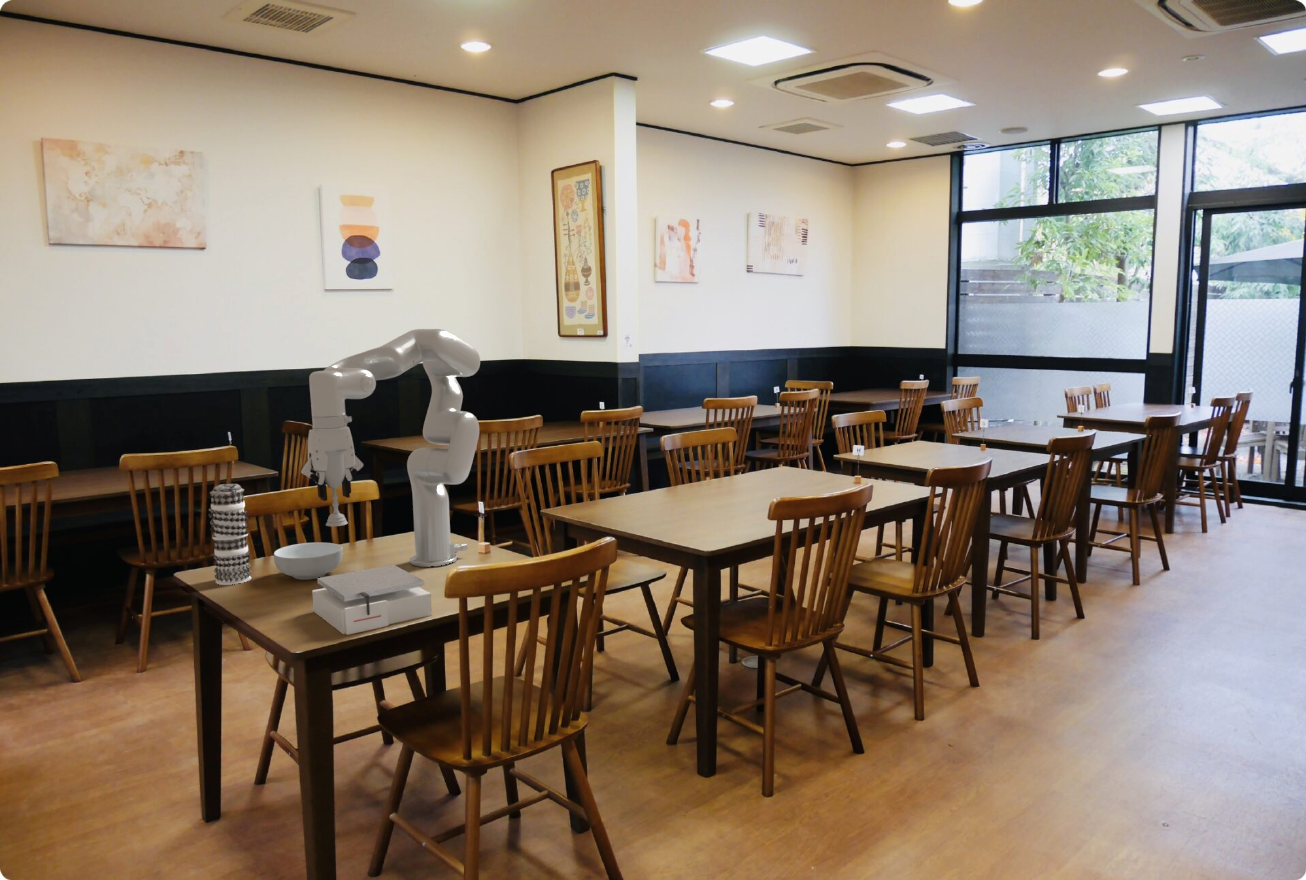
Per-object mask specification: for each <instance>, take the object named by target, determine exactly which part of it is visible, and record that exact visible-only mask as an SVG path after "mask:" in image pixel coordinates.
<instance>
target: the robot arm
mask: <svg viewBox="0 0 1306 880" xmlns="http://www.w3.org/2000/svg"><path fill="white" fill-rule="evenodd" d="M480 357H481V356H480V355H479V352H478V351H477V349H476V348H475V347H474V346H473V345H472V344H470V343H468V342H466V341H465V340H463V339H461V338H460V337H458V336H456V335H455V334H453V333H451V332H449V331H447V330H445V329H440V328H417V329H412V330H409V331H407V332H406V333H405V332H404V333H403V334H401V335H400V336H397V337H396V338H394V339H393V340H390V341H388V342H386V343H385V344H383V345H381V346H378V347H375V348H372V349H369V350H366V351H362V352H360V353H356V354H353V355H351V356H347V357H345V358H342V359H340V360H338V361H336V362H335V363H332V364H331V365H329V366H328V367H326V368H325V369H324V370H317V371H313V372H311V373H310V375H309V377H308V378H309V393H310V396H309V397H310V403H311V404H310V407H311V419H312V420H311V421H312V429H309V431H308V436H307V437H308V438H307V439H308V440H307V461H306V463H305V464H304V466H303V467H302V469H301V471H300V472H301V474H302V475H304V476H305V477H307V478H310V479H311V480H312V481H313V482H314V483H315V484H316V486H317V487H316V488H317V496H318V498H319V499H320V500H321V501H324V502H327V501H328V492H327V490H328V489H327V488H328V487H327V484H326V483H325V481H324V478H325V473H324V472H325V471H327V464H328V456H327V455H326V454H325V452H338V451H345V450H346V452H345V453H344V461H345V467H346V472H345V477H344V479H343V481H342V484H341V492H342V497H345V498H347V499H349V498H350V497H351V496H350V495H351V493H352V485H351V483H352V482H351V481H352V480H353V478H354V477H355V475H356V474H357V473H358V471H360V470H361V469H362V468H363V467H364V463H363V462H362V461H361V460H360V459H359V458H358V457H357V455H355V453H356V451H355V447H354V441H353V436H352V433H351V430H350V427H349V426H348V423H352V421H353V417H352V416H351V415H350V416H348V415H347V414H346V404H345V403H346V402H345V401H346V400H348V399H349V400H362V399H365V398H367V397H369V396H371V395H372V394H374V391H375V389H376V386H377V381H380V380H381V381H382V380H387V379H388V380H389V379H392V378H396V377H398V376H400V375H402V374H403V373H405V372H407V371H408V370H410V369H411V368H414V367H416V366H417V365H419V364H420V363H422V366H423V369H424V370H425V373H426V374H427V376H428V379H429V381H430V385H431V397H430V400H429V401H430V402H429V404H428V405H429V406H428V408H427V411H426V412H427V413H426V415H425V420H424V423H423V428H422V436H423V438H424V440H425V441H426V442H428V443H430V444H432V445H439V446H441V445H442V446H448V448H444V447H429V446H427V447H418V448H417V449H415V450H413V451H412V452H411V453H410V455H409V456H408V459H407V462H406V467H407V473H408V477H409V480H410V485H411V492H412V506H413V507H412V511H413V512H412V513H413V531H414V533H413V534H414V549H415V555H413V556H411V557H410V558H409V562H410V564H411V565H412V566H415V567H421V568H422V567H423V568H424V567H425V568H427V567H429V568H430V567H431V566H434V567H441V565H442V566H446V565H445V564H447V565H450V564H449V563H451V564H453V563H455V562H456V561H457V560H458V555H457V554H458V552H464V551H468V548H469V547H468V544H467V543H461V544H459V543H452V541H451V524H450V501H449V500H450V499H449V498H450V497H449V494H448V491H447V488H446V487H445V485H460V484H462V483H464V482H465V481H466V480H467V479H468V477H469V475H470V471H471V470H472V469H471V468H472V464H473V460H474V457H475V452H476V449H477V446H478V441H479V438H480V424H479V421H478V419H477V416H475V415H474V414H473V413H471V412H469V411H464V410H461V409H462V404H463V398H464V395H463V391H462V387H461V385H460V384H459V382H458V380H457V377H459V378H460V377H462V378H467V377H471V376H474V375H475V374H476V373H477V372H478V371H479V369H480V367H481V366H480V365H481V358H480ZM311 471H314V472H315V473H314V472H311ZM452 562H453V563H452Z"/></svg>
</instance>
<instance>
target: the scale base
mask: <svg viewBox="0 0 1306 880" xmlns="http://www.w3.org/2000/svg"><path fill="white" fill-rule="evenodd" d="M311 592H312V593H311V594H312V608H313V612H314V613H315V614H316V615H318V616H319V617H322V620H324V621H325V620H326V621H325V622H327V623H328V624H329V625H330V626H332V627H333V628H335V629H336V630H337V631H338V632H339V633H341V634H342V635H352V634H356V633H361V632H367V631H372V630H376V629H380V628H385V627H389V625H392V624H397V623H401V622H407V621H411V620H415V619H420V618H424V617H429V616H432V615H433V612H432V610H433V609H432V593H431V592H429V591H427V590H425V589H424V588H423V587H416V588H411V589H406V590H401V591H396V592H391V593H386V594H380V595H375V596H370V597H369V609H370V615H367V606H366V598H360V599H355V600H350V601H343V600H342V599H340V598H339V597H337V596H336V595H334V594H333V593H331V592H330V591H328V590H327V589H325V588H324V587H322V588H318V589H313V590H312V591H311Z"/></svg>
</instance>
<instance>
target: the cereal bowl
mask: <svg viewBox="0 0 1306 880" xmlns="http://www.w3.org/2000/svg"><path fill="white" fill-rule="evenodd" d="M343 553H344V550H343V546H342V545H340V544H337V543H331V542H303V543H298V544H297V543H296V544H291V545H287V546H283V547H280V548H278V549H276V550H275V551H274V552H273V559H274V564H275V567H276V568H277V569H278V571H280V572H281V573H282V574H284V575H287V576H290V577H293V578H294V579H296V580H304V581H305V580H313V579H317V578H318V577H320V578H321V577H325V576H326V575H327V574H328V573H331V572H333V571H335V570H336V569H337V568H338V567H339V566H340V564H341V562H342V561H343V560H342V559H343Z"/></svg>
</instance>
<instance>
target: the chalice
mask: <svg viewBox="0 0 1306 880" xmlns="http://www.w3.org/2000/svg"><path fill="white" fill-rule="evenodd" d="M345 452H346V450H345V451H338V452H325V454H326V455H327V456H328V464H327V471H325V472H324V473H325V478H324V484H326V487H327V488H328V489H331V490H332V495H331V499H332V503H331V506H333V507H332V508H333V511H332V514H330V515H328V519H327V520H326V521H327V522H326V523H325V526H326V527H341V526H345V525H347V524H348V521H347V518H346V517H345V515H344V514H343V513H340V511H339V506H340V503H339V501H338V498H339V495H338V488H340V487H342V481H343V479H344V477H345V472H346V467H345V461H344V453H345Z"/></svg>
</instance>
